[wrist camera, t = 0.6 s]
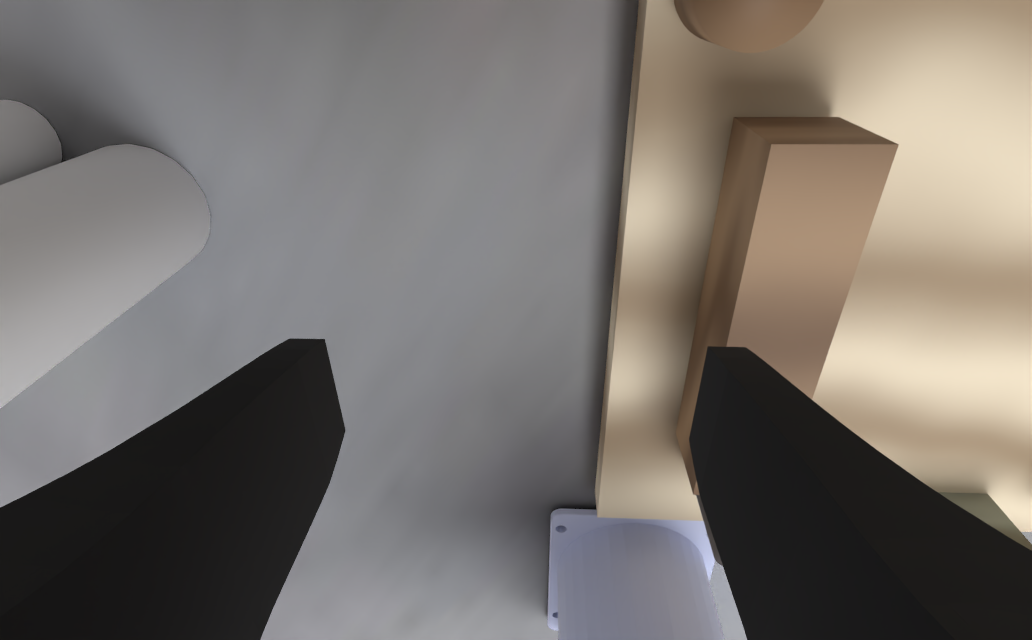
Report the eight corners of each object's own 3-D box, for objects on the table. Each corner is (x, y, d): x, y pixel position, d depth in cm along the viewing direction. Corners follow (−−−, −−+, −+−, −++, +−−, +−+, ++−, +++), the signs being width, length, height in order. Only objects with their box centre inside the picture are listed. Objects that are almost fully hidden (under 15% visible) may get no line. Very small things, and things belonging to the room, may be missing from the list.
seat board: (1096, 506, 24) (1241, 644, 19) (594, 490, 26) (606, 617, 20) (1593, -131, 13) (2269, -205, 8) (648, -111, 14) (705, -165, 9)
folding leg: (750, 434, 21) (778, 497, 18) (675, 432, 21) (693, 494, 19) (838, 116, 15) (898, 144, 12) (733, 117, 15) (771, 144, 13)
